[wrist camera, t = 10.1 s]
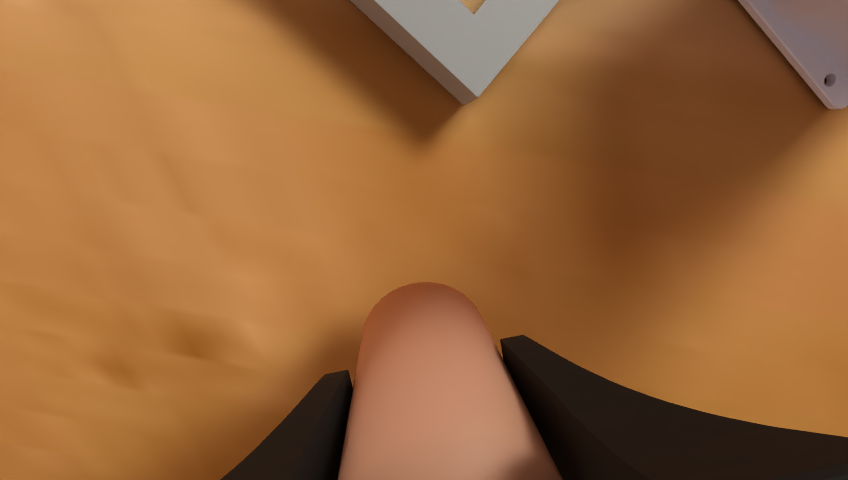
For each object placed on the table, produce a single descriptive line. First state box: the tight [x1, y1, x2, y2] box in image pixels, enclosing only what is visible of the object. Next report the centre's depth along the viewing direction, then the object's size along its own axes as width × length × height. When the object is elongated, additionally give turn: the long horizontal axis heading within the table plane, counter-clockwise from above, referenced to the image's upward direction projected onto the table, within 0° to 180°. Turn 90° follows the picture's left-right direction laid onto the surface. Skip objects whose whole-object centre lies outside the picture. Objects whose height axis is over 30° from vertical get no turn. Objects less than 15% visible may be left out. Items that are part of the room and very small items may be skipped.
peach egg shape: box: [338, 282, 563, 480], centre depth 10 cm, size 4×4×7 cm
